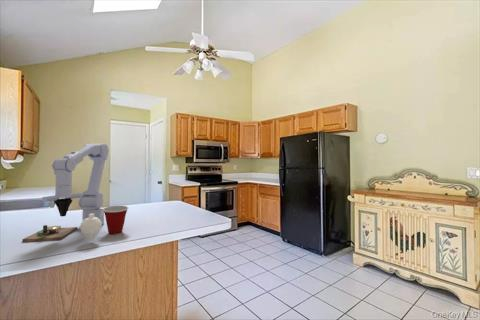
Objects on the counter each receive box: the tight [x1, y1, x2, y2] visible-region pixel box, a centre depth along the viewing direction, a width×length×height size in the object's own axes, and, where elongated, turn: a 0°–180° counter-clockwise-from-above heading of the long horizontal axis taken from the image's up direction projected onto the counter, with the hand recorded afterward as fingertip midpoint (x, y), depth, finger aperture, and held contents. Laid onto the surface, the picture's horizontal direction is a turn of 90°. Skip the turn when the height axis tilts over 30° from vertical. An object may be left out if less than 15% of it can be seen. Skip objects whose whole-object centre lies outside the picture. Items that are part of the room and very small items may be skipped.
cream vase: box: [79, 214, 103, 243], centre depth 97 cm, size 8×8×12 cm
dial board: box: [21, 226, 79, 243], centre depth 106 cm, size 14×16×3 cm
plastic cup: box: [102, 205, 129, 235], centre depth 111 cm, size 11×11×12 cm
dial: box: [42, 224, 62, 233], centre depth 104 cm, size 10×6×3 cm, turn 14°
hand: (62, 216), depth 103 cm, fingers closed
